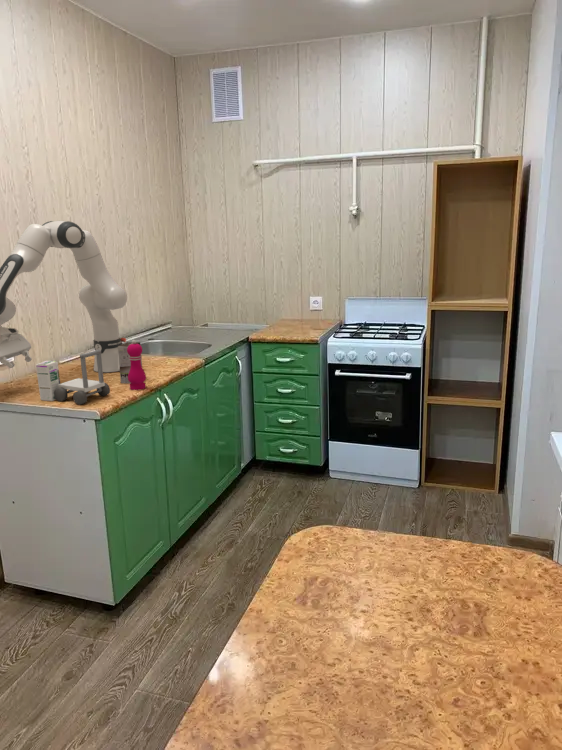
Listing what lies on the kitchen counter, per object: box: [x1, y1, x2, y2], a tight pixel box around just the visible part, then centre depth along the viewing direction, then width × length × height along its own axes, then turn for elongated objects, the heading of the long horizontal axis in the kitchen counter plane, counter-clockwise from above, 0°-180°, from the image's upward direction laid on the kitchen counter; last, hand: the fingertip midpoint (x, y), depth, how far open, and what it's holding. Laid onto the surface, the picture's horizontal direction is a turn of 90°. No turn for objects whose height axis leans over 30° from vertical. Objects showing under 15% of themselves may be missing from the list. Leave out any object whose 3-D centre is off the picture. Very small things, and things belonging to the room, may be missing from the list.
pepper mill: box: [127, 339, 147, 391], centre depth 235 cm, size 7×7×20 cm
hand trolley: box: [54, 350, 111, 406], centre depth 223 cm, size 14×15×19 cm
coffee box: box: [118, 341, 143, 384], centre depth 247 cm, size 9×6×16 cm
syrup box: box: [35, 360, 61, 402], centre depth 223 cm, size 6×6×14 cm
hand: (21, 363), depth 226 cm, fingers open, 8 cm apart
